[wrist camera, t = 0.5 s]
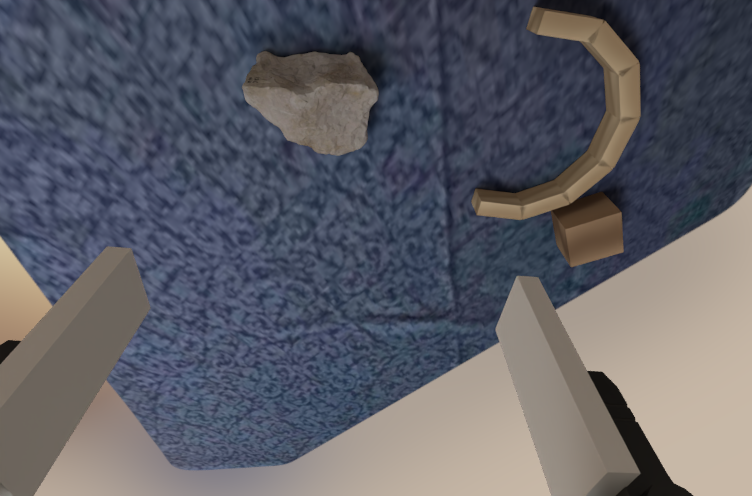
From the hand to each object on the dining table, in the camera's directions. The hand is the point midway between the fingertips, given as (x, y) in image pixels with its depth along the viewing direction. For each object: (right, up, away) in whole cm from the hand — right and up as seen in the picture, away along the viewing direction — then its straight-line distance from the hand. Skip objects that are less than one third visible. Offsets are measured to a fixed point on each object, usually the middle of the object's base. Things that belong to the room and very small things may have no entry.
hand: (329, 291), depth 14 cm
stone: (-3, +15, +20) cm, 25 cm away
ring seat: (+18, +12, +21) cm, 30 cm away
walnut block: (+23, +5, +27) cm, 36 cm away
